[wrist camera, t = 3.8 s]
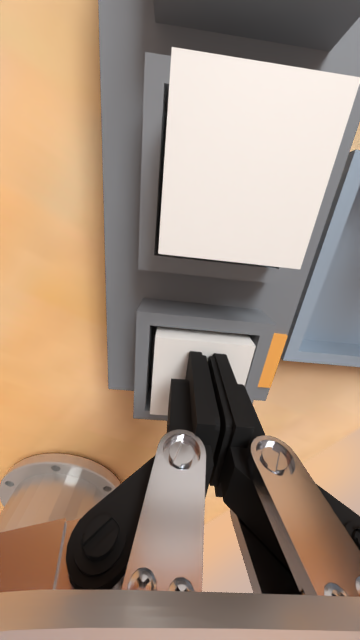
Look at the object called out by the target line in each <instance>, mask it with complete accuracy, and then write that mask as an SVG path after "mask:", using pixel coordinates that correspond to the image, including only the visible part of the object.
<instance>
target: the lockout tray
mask: <svg viewBox="0 0 360 640" xmlns="http://www.w3.org/2000/svg"><path fill="white" fill-rule="evenodd" d="M281 359H282V360H284V361H295V362H307V363H318V364H330V365H342V366H353V367H360V150H354V151H352V152H349V154H348V157H347V160H346V163H345V166H344V169H343V172H342V175H341V178H340V181H339V184H338V187H337V190H336V193H335V196H334V199H333V202H332V205H331V208H330V211H329V214H328V217H327V220H326V223H325V226H324V229H323V232H322V235H321V238H320V241H319V244H318V246H317V249H316V252H315V255H314V258H313V261H312V264H311V267H310V270H309V273H308V276H307V279H306V282H305V285H304V288H303V291H302V294H301V297H300V300H299V303H298V306H297V309H296V312H295V315H294V318H293V321H292V324H291V327H290V330H289V333H288V337H287V340H286V343H285V346H284V349H283V352H282V355H281Z"/></svg>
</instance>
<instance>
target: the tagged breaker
mask: <svg viewBox="0 0 360 640" xmlns="http://www.w3.org/2000/svg"><path fill="white" fill-rule="evenodd" d="M255 347H256V346H255V344H254V343H253V341H252V340H251V338H250V337H249V335H248V334H238V333H227V332H216V331H205V330H194V329H183V328H173V327H162V326H157V331H156V336H155V348H154V362H153V376H152V390H151V404H150V414H154V415H168V404H169V393H170V384H171V378H173V379H185V378H186V372H187V365H188V358H189V352H190V351H196V352H202V355H206V357H207V362H208V357H209V356H213V354H214V353H218V354H226V355H227V357H228V360H229V363H230V365H231V368H232V371H233V373H234V376H235V378H236V381H237V384H243V385H244V386H245V383H246V379H247V376H248V372H249V369H250V365H251V361H252V358H253V354H254V351H255Z"/></svg>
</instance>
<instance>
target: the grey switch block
mask: <svg viewBox="0 0 360 640" xmlns="http://www.w3.org/2000/svg"><path fill="white" fill-rule="evenodd" d="M98 3H99V41H100V80H101V118H102V157H103V195H104V234H105V272H106V311H107V349H108V388H109V389H117V390H130V391H134V412H133V418H137V419H151V420H166V421H167V420H168V415H154V414H150V404H151V390H152V376H153V362H154V348H155V336H156V331H157V326H162V327H173V328H183V329H194V330H205V331H216V332H227V333H238V334H248V335H249V337H250V338H251V340H252V341H253V343H254V344H255V346H256V347H255V351H254V354H253V358H252V361H251V365H250V369H249V372H248V376H247V379H246V383H245V388H246V390H247V393H248V395H249V398H250V400H251V402H252V403H253V400H262V401H266V398H267V395H268V392H269V389H270V387H271V384H272V381H273V378H274V375H275V372H276V370H277V367H278V364H279V361H280V358H281V355H282V352H283V349H284V346H285V343H286V340H287V337H288V333H289V330H290V327H291V324H292V321H293V318H294V315H295V312H296V309H297V306H298V303H299V300H300V297H301V294H302V291H303V288H304V285H305V282H306V279H307V276H308V273H309V270H310V267H311V264H312V261H313V258H314V255H315V252H316V249H317V246H318V244H319V241H320V238H321V235H322V232H323V229H324V226H325V223H326V220H327V217H328V214H329V211H330V208H331V205H332V202H333V199H334V196H335V193H336V190H337V187H338V184H339V181H340V178H341V175H342V172H343V169H344V166H345V163H346V160H347V157H348V154H349V151H350V148H351V146H352V143H353V140H354V137H355V134H356V131H357V128H358V125H359V122H360V0H98Z"/></svg>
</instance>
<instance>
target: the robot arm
mask: <svg viewBox="0 0 360 640" xmlns="http://www.w3.org/2000/svg"><path fill="white" fill-rule="evenodd" d="M209 484H210V486H214V487H215V494H216V497H223V501H224V503H225V504H226V505H227V506H228V507H229V508H230V514H231V519H232V522H233V526H234V529H235V533H236V536H237V539H238V543H239V546H240V550H241V553H242V556H243V560H244V563H245V566H246V570H247V573H248V576H249V579H250V583H251V586H252V589H253V593H222V592H202V573H203V540H204V539H203V538H204V508H205V497H206V493H207V489H208V486H209ZM0 500H1V502H2V504H3V506H4V508H3V510H2V512H1V513H0V640H360V516H359V515H357V514H356V513H354V512H353V511H352V510H351V509H349V508H348V507H346V506H345V505H344V504H342V503H341V502H340V501H338V500H337V499H336V498H334V497H333V496H332V495H330V494H329V493H328V492H326V491H325V490H323V489H322V488H321V487H319V486H318V485H317V484H315V482H314V481H313V479H312V478H311V476H310V475H309V473H308V472H307V470H306V469H305V467H304V466H303V464H302V463H301V461H300V460H299V458H298V457H297V455H296V454H295V453H294V451H293V450H292V449H291V448H290V447H289V446H288V445H287V444H285V443H284V442H283V441H281V440H279V439H277V438H275V437H272V436H265V433H264V431H263V429H262V426H261V424H260V421H259V419H258V417H257V414H256V412H255V410H254V407H253V405H252V402H251V400H250V398H249V395H248V393H247V390H246V388H245V386H244V385H243V384H237V381H236V378H235V376H234V373H233V371H232V368H231V365H230V363H229V360H228V357H227V355H226V354H218V353H214V354H213V356H209V357H208V362H207V357H206V355H202V352H196V351H190V352H189V358H188V365H187V372H186V378H185V379H173V378H171V384H170V393H169V404H168V420H167V434H165V435H164V436H163V437H162V438H161V440H160V442H159V445H158V448H157V452H156V455H155V456H154V457H153V458H152V459H150V460H149V461H148V462H147V463H146V464H144V465H143V466H142V467H141V468H140V469H138V470H137V471H136V472H135V473H133V474H132V475H131V476H130V477H129V478H127V479H126V480H125V481H124V482H123V483H120V481H119V480H118V478H117V477H116V476H115V475H114V474H113V473H112V472H111V471H109V470H108V469H106V468H105V467H104V466H102V465H100V464H98V463H96V462H94V461H92V460H89V459H86V458H83V457H80V456H75V455H70V454H60V453H49V454H40V455H35V456H31V457H28V458H26V459H23V460H21V461H19V462H18V463H16V464H15V465H13V466H12V467H11V468H10V469H9V471H8V472H7V474H6V475H5V476H4V478H3V479H2V481H1V483H0Z"/></svg>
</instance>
